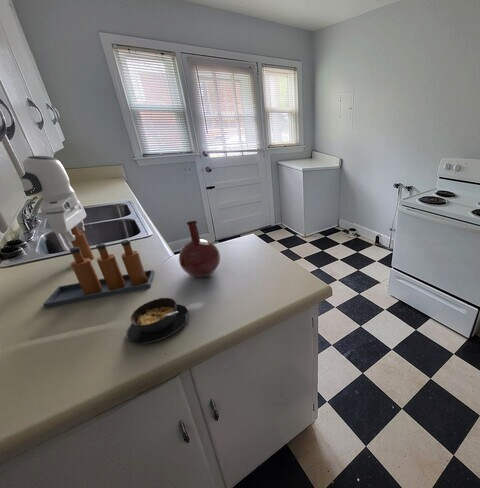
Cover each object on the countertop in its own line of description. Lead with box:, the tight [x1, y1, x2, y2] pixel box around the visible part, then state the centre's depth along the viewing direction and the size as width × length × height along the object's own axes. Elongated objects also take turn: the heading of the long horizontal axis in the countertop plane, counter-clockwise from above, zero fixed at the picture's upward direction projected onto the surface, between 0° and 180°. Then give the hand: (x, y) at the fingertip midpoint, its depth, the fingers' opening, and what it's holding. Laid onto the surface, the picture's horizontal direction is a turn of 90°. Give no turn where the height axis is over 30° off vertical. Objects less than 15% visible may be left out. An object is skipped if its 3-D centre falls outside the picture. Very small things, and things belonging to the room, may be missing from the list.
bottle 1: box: [69, 247, 102, 295], centre depth 84 cm, size 5×5×16 cm
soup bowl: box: [126, 297, 190, 345], centre depth 71 cm, size 15×16×7 cm
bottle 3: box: [120, 239, 148, 286], centre depth 89 cm, size 5×5×16 cm
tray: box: [42, 269, 156, 309], centre depth 89 cm, size 27×10×2 cm, turn 113°
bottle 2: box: [95, 242, 125, 290], centre depth 87 cm, size 5×5×16 cm
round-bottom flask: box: [178, 220, 221, 278], centre depth 94 cm, size 13×13×20 cm
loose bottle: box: [70, 225, 95, 261], centre depth 106 cm, size 5×5×16 cm
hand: (77, 235), depth 105 cm, fingers open, 8 cm apart
